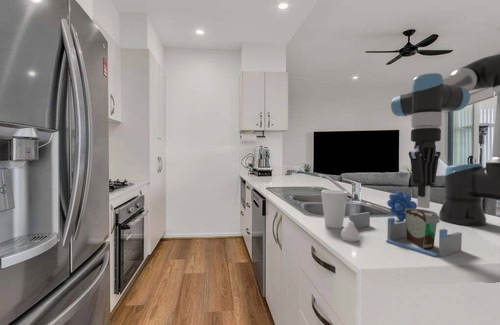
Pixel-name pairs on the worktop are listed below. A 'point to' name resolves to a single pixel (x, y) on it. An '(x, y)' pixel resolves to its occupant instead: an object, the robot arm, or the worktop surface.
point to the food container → (421, 227)
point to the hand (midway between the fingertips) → (423, 207)
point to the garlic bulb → (350, 232)
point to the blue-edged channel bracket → (398, 230)
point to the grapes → (400, 204)
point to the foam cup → (334, 207)
